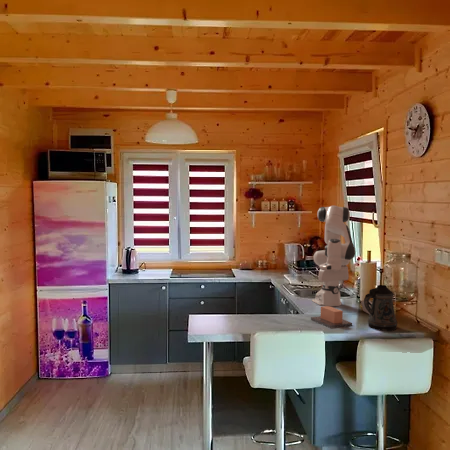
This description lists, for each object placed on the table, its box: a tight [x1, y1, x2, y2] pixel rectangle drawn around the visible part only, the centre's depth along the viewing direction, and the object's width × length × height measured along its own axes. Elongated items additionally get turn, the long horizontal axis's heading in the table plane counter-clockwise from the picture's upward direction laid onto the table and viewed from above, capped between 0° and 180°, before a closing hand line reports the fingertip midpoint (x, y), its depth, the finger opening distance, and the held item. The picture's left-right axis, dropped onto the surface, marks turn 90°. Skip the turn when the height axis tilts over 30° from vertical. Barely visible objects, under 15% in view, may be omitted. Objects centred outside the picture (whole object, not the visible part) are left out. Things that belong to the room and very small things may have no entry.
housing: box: [319, 305, 344, 323], centre depth 286 cm, size 14×6×7 cm, turn 23°
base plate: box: [310, 315, 353, 328], centre depth 286 cm, size 20×16×5 cm
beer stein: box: [363, 284, 398, 332], centre depth 275 cm, size 16×19×25 cm
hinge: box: [360, 300, 372, 316], centre depth 311 cm, size 17×5×10 cm, turn 5°
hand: (333, 288), depth 286 cm, fingers open, 8 cm apart
